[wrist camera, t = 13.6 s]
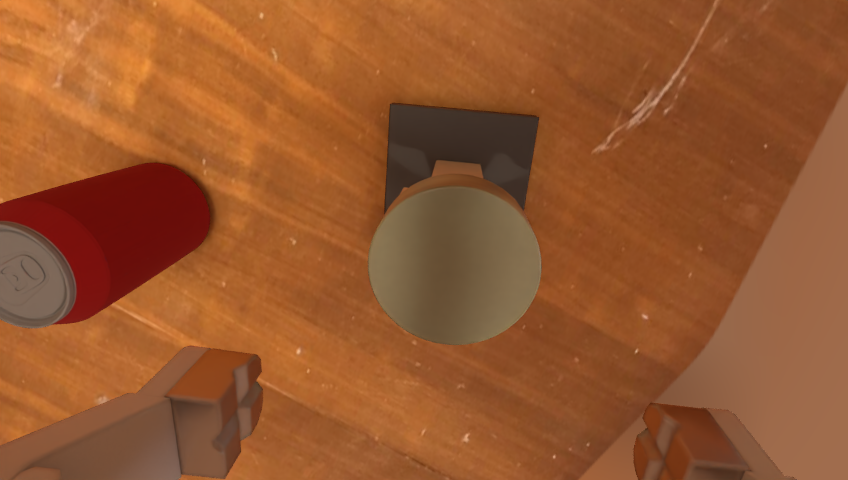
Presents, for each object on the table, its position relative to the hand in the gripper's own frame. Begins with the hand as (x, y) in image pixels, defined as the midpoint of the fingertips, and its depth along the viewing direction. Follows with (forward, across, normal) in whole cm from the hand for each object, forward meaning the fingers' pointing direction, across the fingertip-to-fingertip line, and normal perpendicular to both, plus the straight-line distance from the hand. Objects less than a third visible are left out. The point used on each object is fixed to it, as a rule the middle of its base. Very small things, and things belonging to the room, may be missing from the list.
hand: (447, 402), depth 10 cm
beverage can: (+22, +20, +4) cm, 30 cm away
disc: (+8, 0, 0) cm, 9 cm away
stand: (+22, 0, 0) cm, 22 cm away
